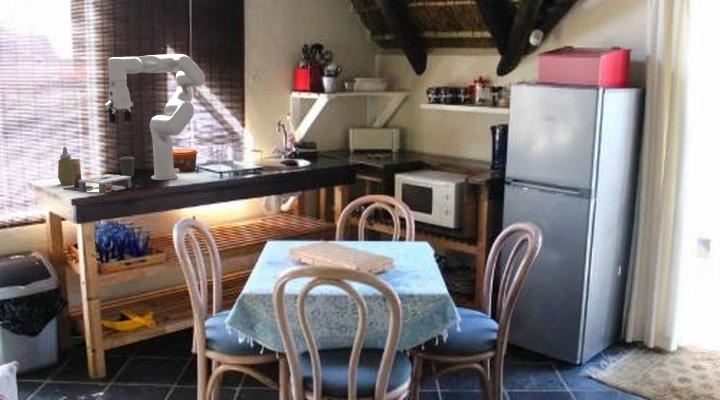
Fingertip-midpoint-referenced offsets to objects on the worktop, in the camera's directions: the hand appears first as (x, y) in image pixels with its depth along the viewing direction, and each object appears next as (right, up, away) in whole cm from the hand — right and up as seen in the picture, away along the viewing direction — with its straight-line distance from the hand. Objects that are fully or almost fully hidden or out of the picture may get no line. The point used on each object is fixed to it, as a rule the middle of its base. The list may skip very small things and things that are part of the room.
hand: (120, 121), depth 329 cm
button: (-5, -32, -5) cm, 32 cm away
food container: (+17, -21, +51) cm, 58 cm away
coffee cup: (-7, -25, +32) cm, 41 cm away
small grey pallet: (-5, -32, -5) cm, 33 cm away
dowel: (-19, -31, -3) cm, 36 cm away
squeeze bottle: (-28, -29, +8) cm, 41 cm away
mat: (-19, -31, -3) cm, 37 cm away
